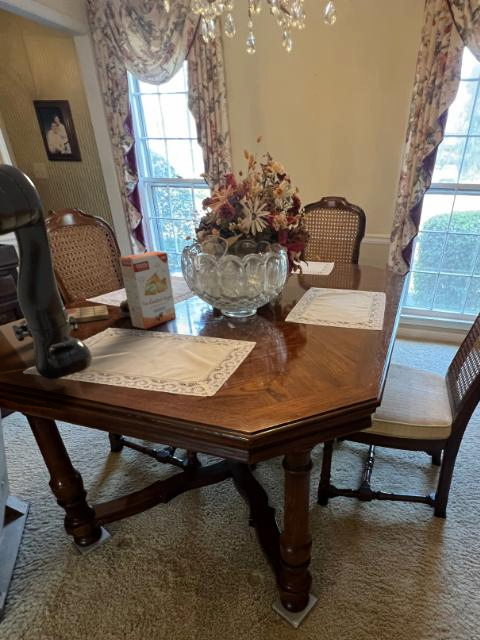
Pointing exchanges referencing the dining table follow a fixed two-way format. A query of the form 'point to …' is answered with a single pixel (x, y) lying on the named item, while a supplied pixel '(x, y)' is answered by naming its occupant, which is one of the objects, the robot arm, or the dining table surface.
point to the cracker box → (148, 288)
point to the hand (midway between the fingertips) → (43, 321)
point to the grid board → (88, 313)
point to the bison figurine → (124, 309)
